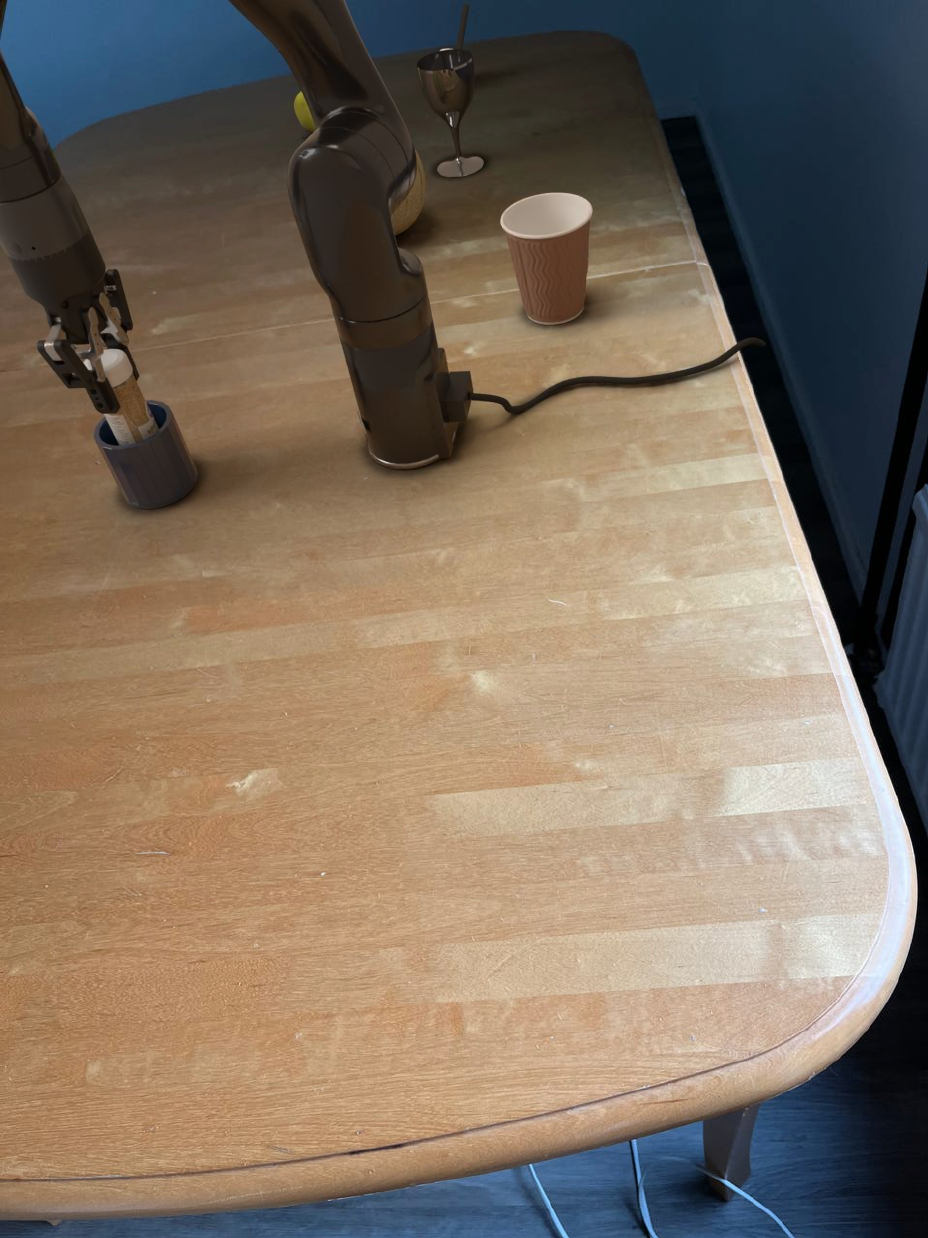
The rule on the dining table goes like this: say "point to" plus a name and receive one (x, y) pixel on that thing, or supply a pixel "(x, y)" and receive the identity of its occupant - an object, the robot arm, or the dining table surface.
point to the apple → (304, 113)
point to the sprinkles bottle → (126, 400)
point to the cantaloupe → (410, 202)
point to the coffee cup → (550, 254)
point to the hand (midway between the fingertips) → (120, 394)
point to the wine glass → (450, 100)
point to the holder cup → (150, 462)
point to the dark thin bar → (462, 26)
